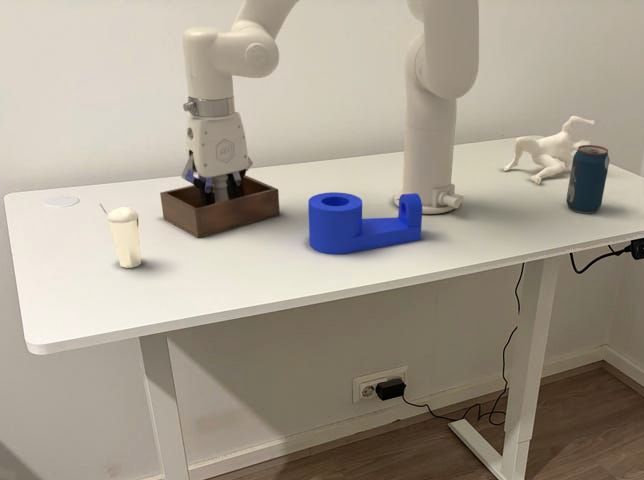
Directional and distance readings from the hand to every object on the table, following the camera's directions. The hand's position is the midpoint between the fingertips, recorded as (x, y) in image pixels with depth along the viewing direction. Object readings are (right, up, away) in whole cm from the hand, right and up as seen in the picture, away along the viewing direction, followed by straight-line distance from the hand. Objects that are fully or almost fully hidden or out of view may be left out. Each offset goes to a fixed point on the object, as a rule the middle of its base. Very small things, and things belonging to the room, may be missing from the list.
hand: (221, 207), depth 135 cm
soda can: (+70, +2, +13) cm, 71 cm away
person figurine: (+67, +14, +32) cm, 76 cm away
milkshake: (-11, -13, -18) cm, 24 cm away
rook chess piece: (0, -1, +1) cm, 2 cm away
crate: (0, -2, +1) cm, 2 cm away
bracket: (+27, -7, -6) cm, 28 cm away
